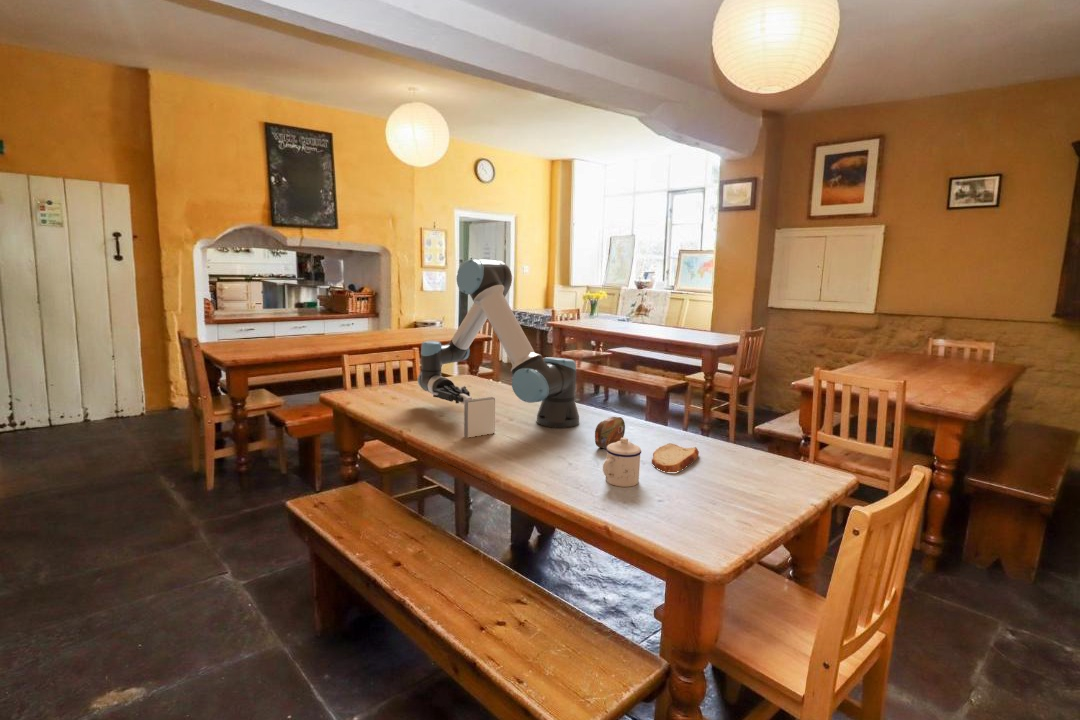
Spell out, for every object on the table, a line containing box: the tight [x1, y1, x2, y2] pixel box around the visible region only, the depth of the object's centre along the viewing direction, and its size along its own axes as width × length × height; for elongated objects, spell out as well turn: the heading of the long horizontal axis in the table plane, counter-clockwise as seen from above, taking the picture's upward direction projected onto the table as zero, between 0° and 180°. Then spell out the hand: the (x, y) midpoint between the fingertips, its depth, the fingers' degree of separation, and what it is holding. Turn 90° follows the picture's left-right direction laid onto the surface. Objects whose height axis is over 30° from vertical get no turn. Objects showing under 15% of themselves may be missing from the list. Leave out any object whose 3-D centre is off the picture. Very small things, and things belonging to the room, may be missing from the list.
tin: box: [594, 416, 626, 450], centre depth 175 cm, size 15×3×8 cm, turn 143°
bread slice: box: [651, 443, 700, 472], centre depth 163 cm, size 18×18×4 cm
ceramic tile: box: [463, 396, 496, 439], centre depth 181 cm, size 2×10×12 cm, turn 123°
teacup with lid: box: [602, 437, 642, 488], centre depth 145 cm, size 12×9×12 cm
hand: (469, 401), depth 187 cm, fingers closed
